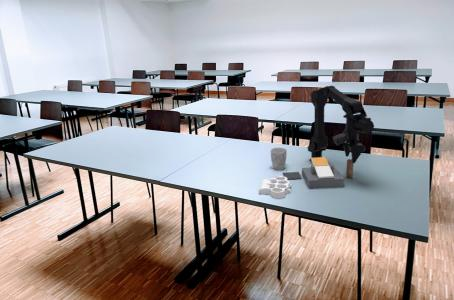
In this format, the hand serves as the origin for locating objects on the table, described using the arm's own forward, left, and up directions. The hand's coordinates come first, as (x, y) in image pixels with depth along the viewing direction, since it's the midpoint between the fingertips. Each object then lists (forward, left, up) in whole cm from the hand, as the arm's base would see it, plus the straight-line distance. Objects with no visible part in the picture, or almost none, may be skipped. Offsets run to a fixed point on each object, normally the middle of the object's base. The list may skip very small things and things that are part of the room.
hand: (350, 159), depth 165 cm
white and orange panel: (+2, -14, -2) cm, 14 cm away
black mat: (-5, -27, -9) cm, 29 cm away
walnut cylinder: (0, 0, -9) cm, 9 cm away
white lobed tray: (+9, -37, -10) cm, 39 cm away
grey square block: (+2, -14, -9) cm, 17 cm away
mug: (-19, -31, -9) cm, 37 cm away
